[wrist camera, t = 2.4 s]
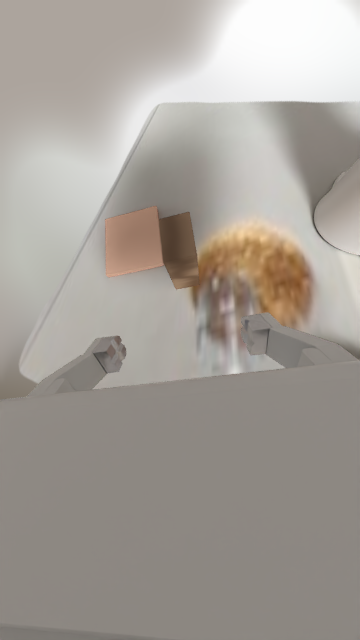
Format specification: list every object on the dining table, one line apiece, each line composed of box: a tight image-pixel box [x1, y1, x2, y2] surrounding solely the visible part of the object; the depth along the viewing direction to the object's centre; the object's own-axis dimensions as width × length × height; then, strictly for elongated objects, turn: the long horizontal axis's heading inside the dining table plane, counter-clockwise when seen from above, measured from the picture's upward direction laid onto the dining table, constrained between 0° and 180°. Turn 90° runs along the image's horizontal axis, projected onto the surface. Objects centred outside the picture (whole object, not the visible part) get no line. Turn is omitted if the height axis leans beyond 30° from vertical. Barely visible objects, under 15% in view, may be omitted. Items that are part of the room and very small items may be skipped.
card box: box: [158, 212, 199, 289], centre depth 25 cm, size 4×7×9 cm, turn 8°
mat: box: [105, 206, 164, 277], centre depth 32 cm, size 12×14×1 cm
